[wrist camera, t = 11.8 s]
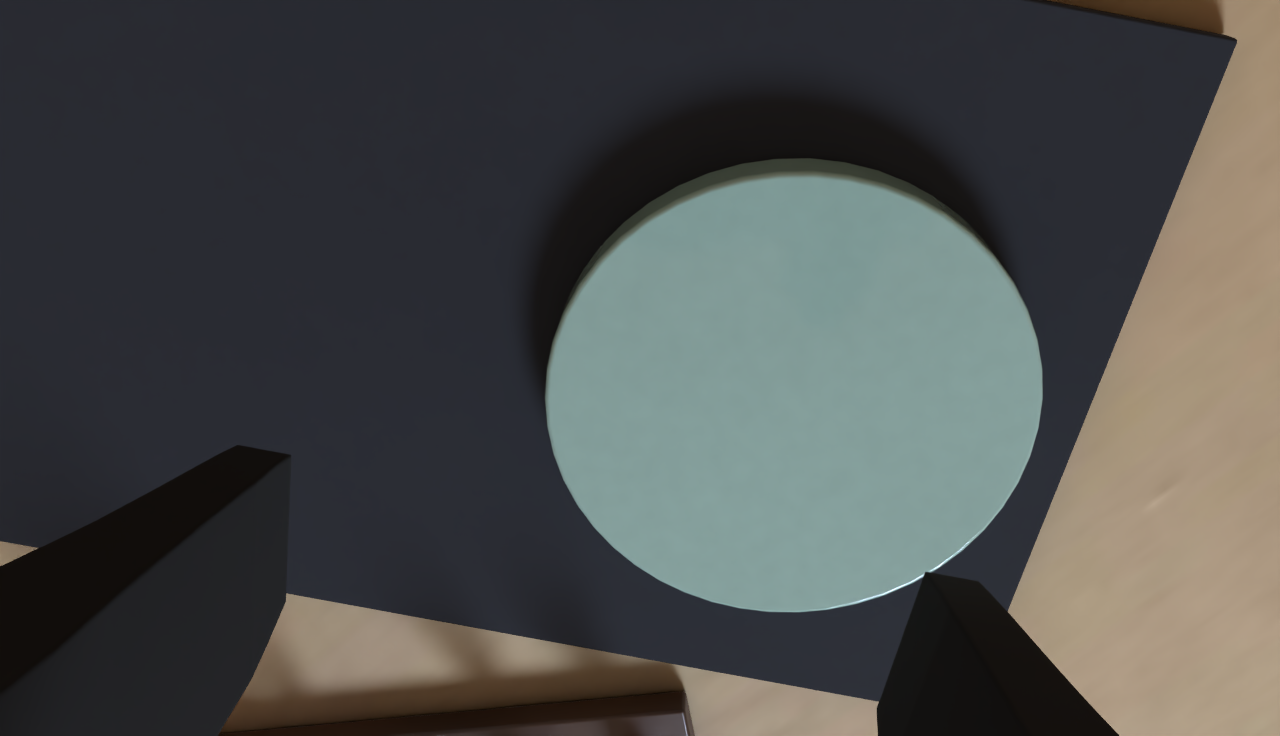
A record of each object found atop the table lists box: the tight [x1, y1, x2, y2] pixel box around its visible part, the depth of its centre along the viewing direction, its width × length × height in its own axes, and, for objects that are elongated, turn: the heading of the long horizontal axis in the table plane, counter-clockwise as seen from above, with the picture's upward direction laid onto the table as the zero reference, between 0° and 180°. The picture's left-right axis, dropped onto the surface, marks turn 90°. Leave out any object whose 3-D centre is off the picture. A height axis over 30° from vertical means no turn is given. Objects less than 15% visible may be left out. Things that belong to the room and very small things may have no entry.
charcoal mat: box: [0, 0, 1237, 701], centre depth 18 cm, size 20×13×1 cm, turn 80°
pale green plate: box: [545, 158, 1043, 612], centre depth 18 cm, size 1×8×8 cm
